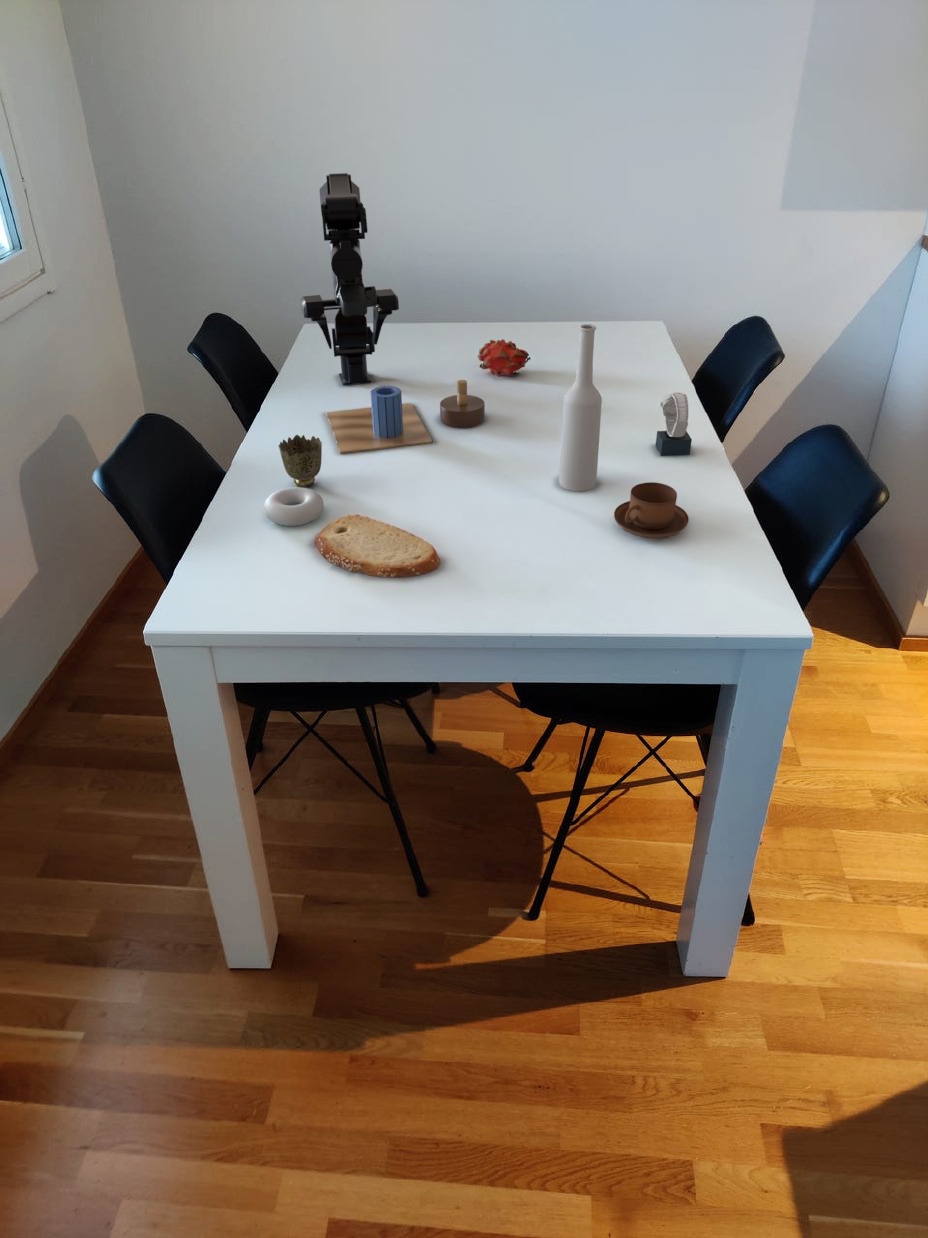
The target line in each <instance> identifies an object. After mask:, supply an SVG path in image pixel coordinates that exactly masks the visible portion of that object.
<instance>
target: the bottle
mask: <svg viewBox="0 0 928 1238" xmlns="http://www.w3.org/2000/svg"><path fill="white" fill-rule="evenodd" d="M578 329H579V336H578V353H577V363H576V373H575V380H574V384H573V385H572V386H571V387H570V388H569V389H568V390H567V391H566V392H565V394H564V396H563V406H562V407H563V408H562V423H561V439H560V440H561V441H560V456H559V472H558V473H559V478H558V484H559V486H560V487H561V488H562V489H564V490H567V491H572V492H579V493H580V492H587V491H590V490H592V489H594V488H595V487H596V485H597V477H598V476H597V475H598V466H599V465H598V463H599V451H600V450H599V449H600V435H601V434H600V433H601V420H602V419H601V418H602V403H603V398H602V395H601V393H600V391H599V390H598V389H597V387H596V386H595V385H594V383H593V381H594V379H593V377H594V373H593V372H594V365H593V364H594V347H595V331H596V329H597V326H596V325H594V324H591V323H585V324H581V325H579V326H578Z"/></svg>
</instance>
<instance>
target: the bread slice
mask: <svg viewBox="0 0 928 1238" xmlns="http://www.w3.org/2000/svg"><path fill="white" fill-rule="evenodd" d="M313 544H314V546H315V548H316V551H317V552H318V553H319V554H320V555H321V557H323V559H324V560H326V561H327V562H329V563H330V564H334V565H335V566H337V567H339V568H342V569H344V570H346V571H349V572H350V573H351V572H353V573H362V574H365V575H367V576H371V577H377V578H395V579H396V578H398V579H399V578H400V579H401V578H411V577H417V576H421V575H425V574H428V573H431V572H433V571H434V570H438V569H439V567H440V566H441V563H442V560H441V558H440V556H439V555H438V552H437V550H436V549H435V547H434V545H432V544H430V543H429V542H428V541H426V540H424V539H423V538H422V537H420V536H416V535H415V534H413V533H411V532H409V531H407V530H404V529H402V528H400V527H397V526H394V525H391V524H390V523H386V522H383V521H381V520H377V519H375V518H371V517H369V516H365V515H361V514H359V513H356V514H353V515H352V514H351V515H350V514H348V515H345V516H342V517H339V518H338V519H335V520H333V521H332V522H330V523H328V524H327V525H326V526H325V527H324V528H322V529H321V530H320V531H319V533H318V534H317V535H315V538H314V539H313Z"/></svg>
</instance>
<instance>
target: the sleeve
mask: <svg viewBox="0 0 928 1238" xmlns="http://www.w3.org/2000/svg"><path fill="white" fill-rule="evenodd" d="M369 392H370V403H371V405H370V406H371V408H372V420H373V433H374V435H375V436H377V437H379V438H380V437H381V438H395V437H398V436H400V435H402V433H403V415H402V404H403V399H402V398H403V397H402V390H401V388H399V387H397V386H393V385H380V386H376V387H373V388H372V389H371V390H370V391H369Z"/></svg>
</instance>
